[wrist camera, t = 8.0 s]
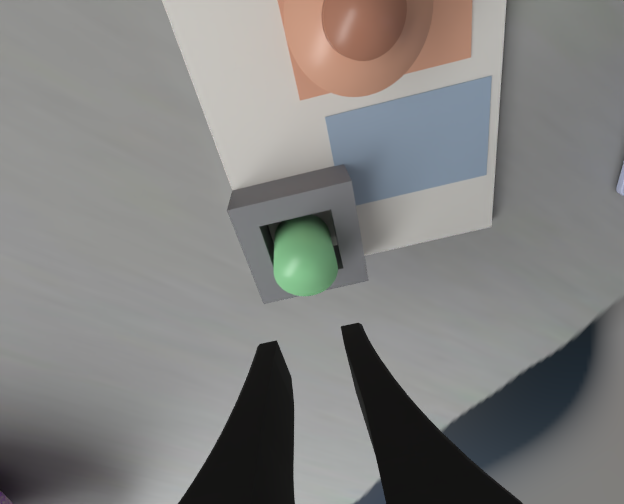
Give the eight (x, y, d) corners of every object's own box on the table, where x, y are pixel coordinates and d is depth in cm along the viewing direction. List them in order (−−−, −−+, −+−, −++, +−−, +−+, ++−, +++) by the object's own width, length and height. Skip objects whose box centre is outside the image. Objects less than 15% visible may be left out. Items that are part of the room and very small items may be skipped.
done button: (324, 207, 18) (331, 237, 16) (334, 254, 20) (342, 288, 17) (267, 220, 18) (265, 252, 16) (282, 266, 20) (283, 301, 18)
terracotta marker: (373, -49, 14) (448, -119, 8) (382, 64, 16) (447, 84, 10) (273, -26, 14) (264, -74, 8) (295, 83, 16) (302, 117, 10)
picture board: (507, -150, 13) (561, -190, 11) (486, 222, 22) (513, 248, 19) (147, -48, 14) (119, -64, 11) (265, 272, 23) (263, 303, 20)
